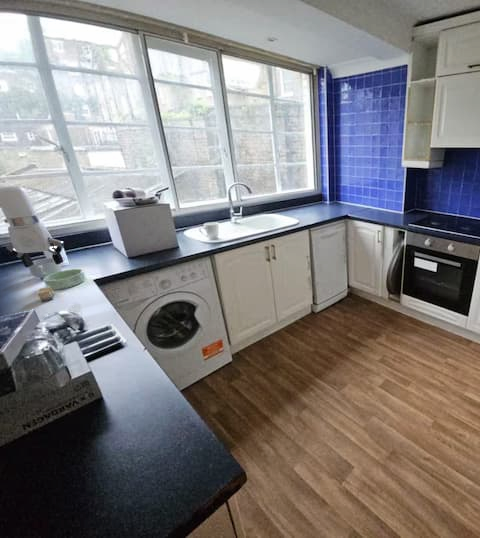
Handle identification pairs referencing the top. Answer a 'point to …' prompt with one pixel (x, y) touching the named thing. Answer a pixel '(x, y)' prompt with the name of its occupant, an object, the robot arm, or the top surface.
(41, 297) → the eraser
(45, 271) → the teacup
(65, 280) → the bowl
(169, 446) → the top surface
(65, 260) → the white cup
